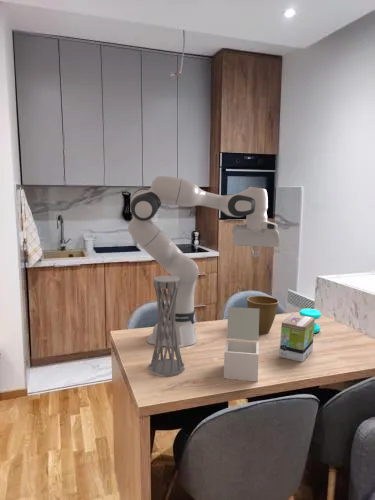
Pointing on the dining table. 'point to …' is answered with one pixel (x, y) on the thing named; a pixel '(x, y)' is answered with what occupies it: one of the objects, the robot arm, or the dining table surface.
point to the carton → (241, 360)
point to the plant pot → (264, 311)
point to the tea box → (297, 337)
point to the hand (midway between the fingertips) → (255, 256)
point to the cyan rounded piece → (313, 314)
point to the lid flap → (243, 323)
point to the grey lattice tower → (165, 365)
